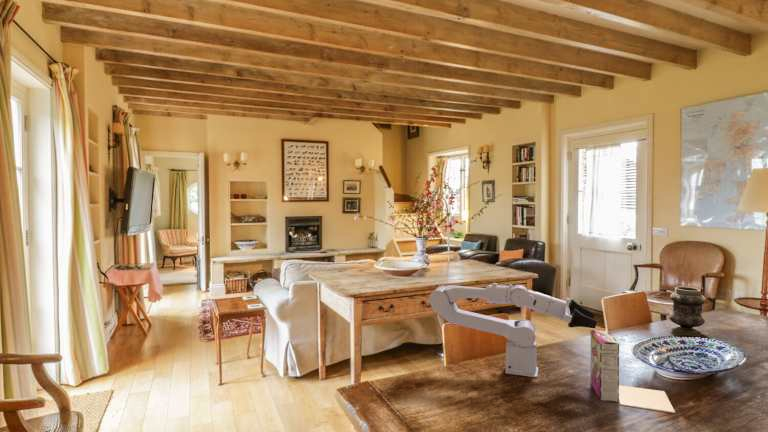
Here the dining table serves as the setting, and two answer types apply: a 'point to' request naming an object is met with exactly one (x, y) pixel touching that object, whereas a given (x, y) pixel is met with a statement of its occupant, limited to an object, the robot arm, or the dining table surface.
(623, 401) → the placemat
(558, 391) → the dining table surface
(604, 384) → the candy bar box
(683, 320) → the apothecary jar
